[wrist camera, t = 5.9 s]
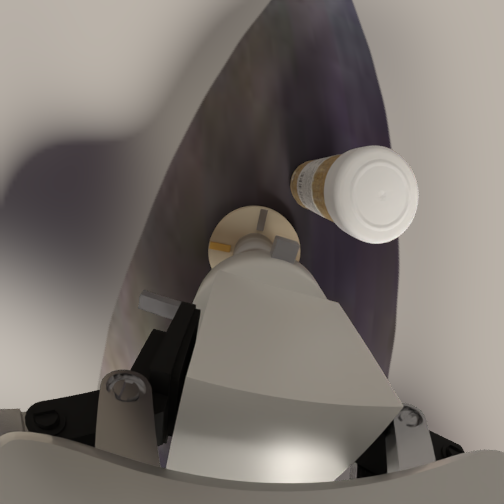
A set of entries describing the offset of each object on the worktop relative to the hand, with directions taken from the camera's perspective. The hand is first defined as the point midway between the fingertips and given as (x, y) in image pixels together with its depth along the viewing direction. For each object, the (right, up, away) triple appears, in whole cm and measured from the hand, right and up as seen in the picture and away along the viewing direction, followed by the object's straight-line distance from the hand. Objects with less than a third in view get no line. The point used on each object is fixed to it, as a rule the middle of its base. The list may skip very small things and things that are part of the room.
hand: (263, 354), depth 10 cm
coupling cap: (-1, +1, +3) cm, 4 cm away
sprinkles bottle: (+5, +10, +14) cm, 18 cm away
